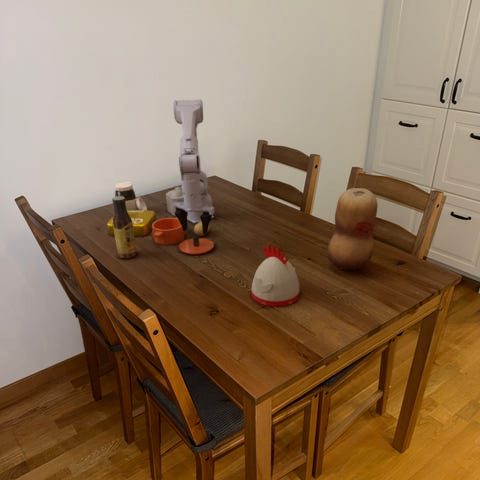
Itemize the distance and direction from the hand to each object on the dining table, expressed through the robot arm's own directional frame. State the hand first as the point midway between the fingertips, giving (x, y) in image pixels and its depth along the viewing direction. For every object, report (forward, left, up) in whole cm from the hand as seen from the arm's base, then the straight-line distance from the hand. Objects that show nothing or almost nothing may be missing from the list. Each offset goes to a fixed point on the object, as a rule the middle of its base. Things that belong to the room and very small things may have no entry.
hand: (195, 231), depth 161 cm
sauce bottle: (+21, -10, -6) cm, 24 cm away
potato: (-8, -8, -6) cm, 13 cm away
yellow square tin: (+9, -30, -6) cm, 32 cm away
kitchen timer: (-1, +41, -6) cm, 41 cm away
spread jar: (+2, -44, -6) cm, 45 cm away
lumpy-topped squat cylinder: (-16, -33, -6) cm, 38 cm away
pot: (+3, -13, -6) cm, 15 cm away
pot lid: (0, 0, -6) cm, 6 cm away
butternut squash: (-29, +44, -6) cm, 53 cm away
